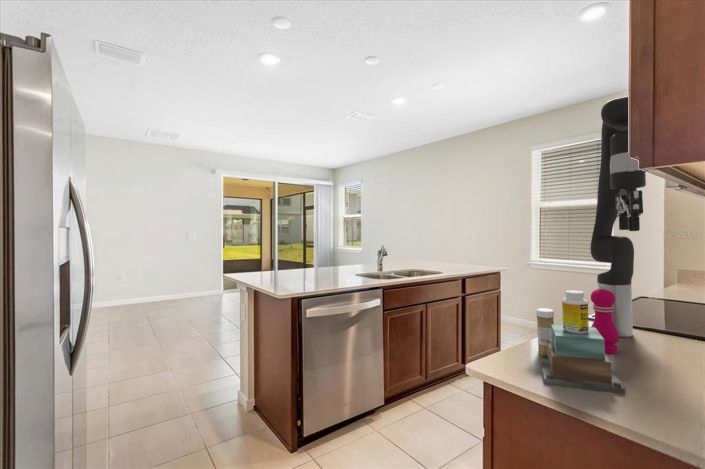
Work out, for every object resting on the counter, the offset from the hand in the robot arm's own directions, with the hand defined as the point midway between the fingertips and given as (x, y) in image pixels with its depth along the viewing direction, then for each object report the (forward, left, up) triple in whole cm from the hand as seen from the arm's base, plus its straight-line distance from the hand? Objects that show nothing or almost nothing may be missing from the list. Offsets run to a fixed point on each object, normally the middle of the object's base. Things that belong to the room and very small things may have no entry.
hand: (628, 230), depth 94 cm
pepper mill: (-7, -5, -36) cm, 37 cm away
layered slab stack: (+14, -15, -36) cm, 42 cm away
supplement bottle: (+14, -15, -25) cm, 32 cm away
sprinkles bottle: (+1, -21, -36) cm, 42 cm away
